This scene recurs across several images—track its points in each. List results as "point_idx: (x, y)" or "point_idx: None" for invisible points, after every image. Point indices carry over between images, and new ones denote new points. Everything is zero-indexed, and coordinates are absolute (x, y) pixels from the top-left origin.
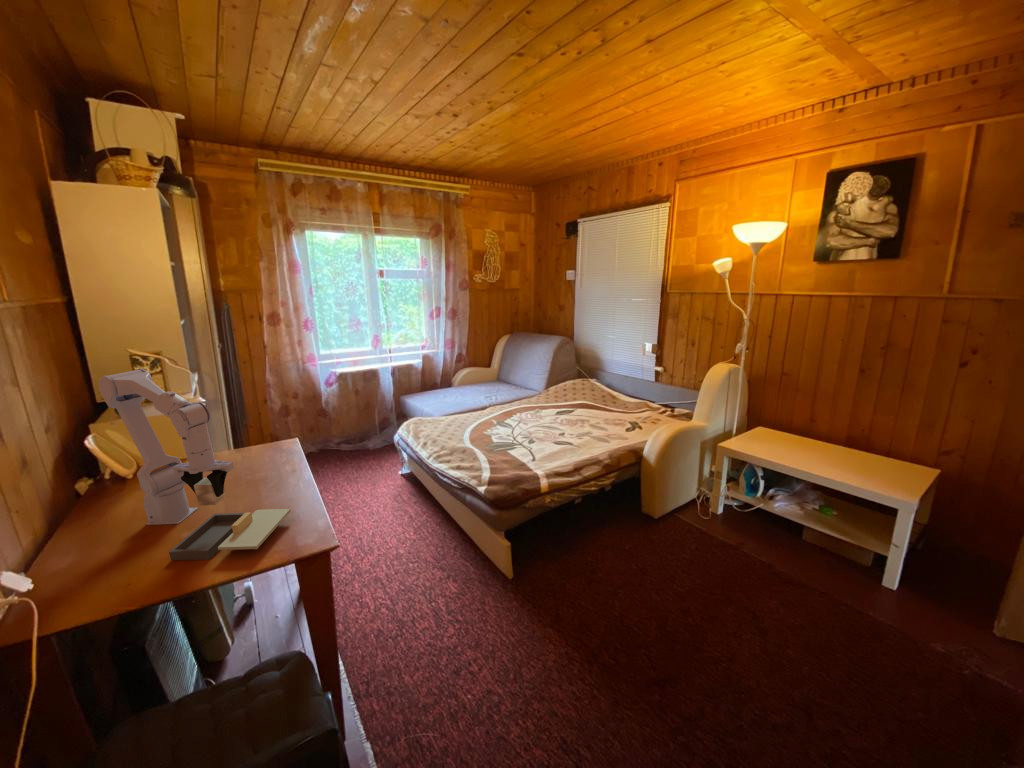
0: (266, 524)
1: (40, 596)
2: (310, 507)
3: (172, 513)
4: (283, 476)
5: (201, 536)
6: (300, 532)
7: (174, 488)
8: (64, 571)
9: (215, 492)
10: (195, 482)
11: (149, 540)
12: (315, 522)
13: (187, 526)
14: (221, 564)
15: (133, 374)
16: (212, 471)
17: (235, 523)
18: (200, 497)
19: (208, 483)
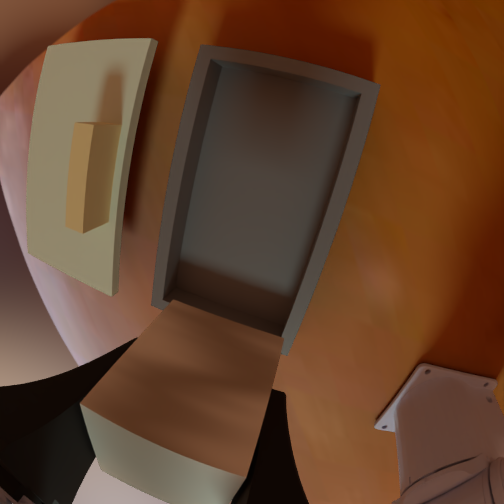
0: (47, 169)
1: None
2: (45, 289)
3: (439, 399)
4: None
5: (308, 228)
6: (26, 164)
7: (429, 490)
8: None
9: (120, 356)
10: (241, 501)
11: (489, 290)
12: (14, 205)
13: (390, 340)
14: (169, 29)
15: None
16: (10, 489)
17: (84, 140)
18: (243, 370)
19: (117, 437)
